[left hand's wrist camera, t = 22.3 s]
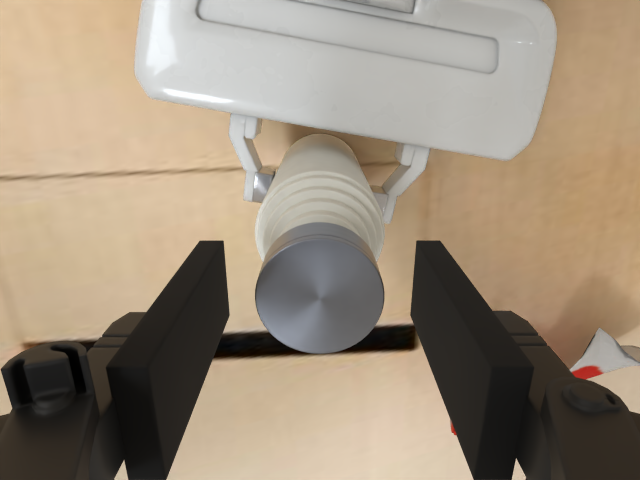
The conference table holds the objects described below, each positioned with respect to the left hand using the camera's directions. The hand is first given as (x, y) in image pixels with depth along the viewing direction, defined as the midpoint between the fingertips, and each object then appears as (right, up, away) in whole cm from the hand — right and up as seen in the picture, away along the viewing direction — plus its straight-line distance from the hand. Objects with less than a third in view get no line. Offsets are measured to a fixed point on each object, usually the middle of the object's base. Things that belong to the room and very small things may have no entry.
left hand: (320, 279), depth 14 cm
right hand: (0, +3, +11) cm, 11 cm away
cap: (0, 0, -1) cm, 1 cm away
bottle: (0, +6, +16) cm, 17 cm away
